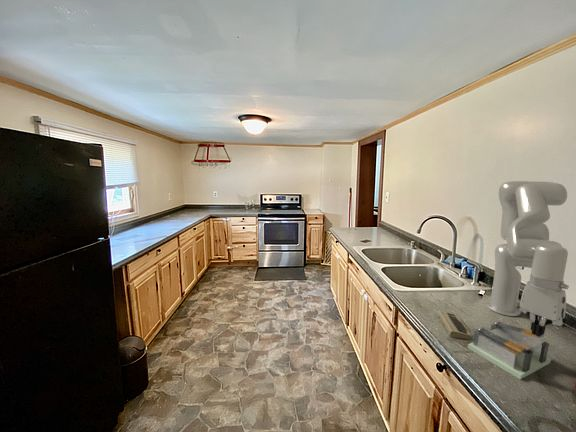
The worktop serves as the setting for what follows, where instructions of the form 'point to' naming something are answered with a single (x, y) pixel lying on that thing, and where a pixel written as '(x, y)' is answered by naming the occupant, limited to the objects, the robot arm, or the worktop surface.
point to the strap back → (517, 329)
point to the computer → (454, 325)
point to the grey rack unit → (508, 353)
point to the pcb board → (515, 372)
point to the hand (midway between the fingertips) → (536, 334)
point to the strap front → (503, 340)
